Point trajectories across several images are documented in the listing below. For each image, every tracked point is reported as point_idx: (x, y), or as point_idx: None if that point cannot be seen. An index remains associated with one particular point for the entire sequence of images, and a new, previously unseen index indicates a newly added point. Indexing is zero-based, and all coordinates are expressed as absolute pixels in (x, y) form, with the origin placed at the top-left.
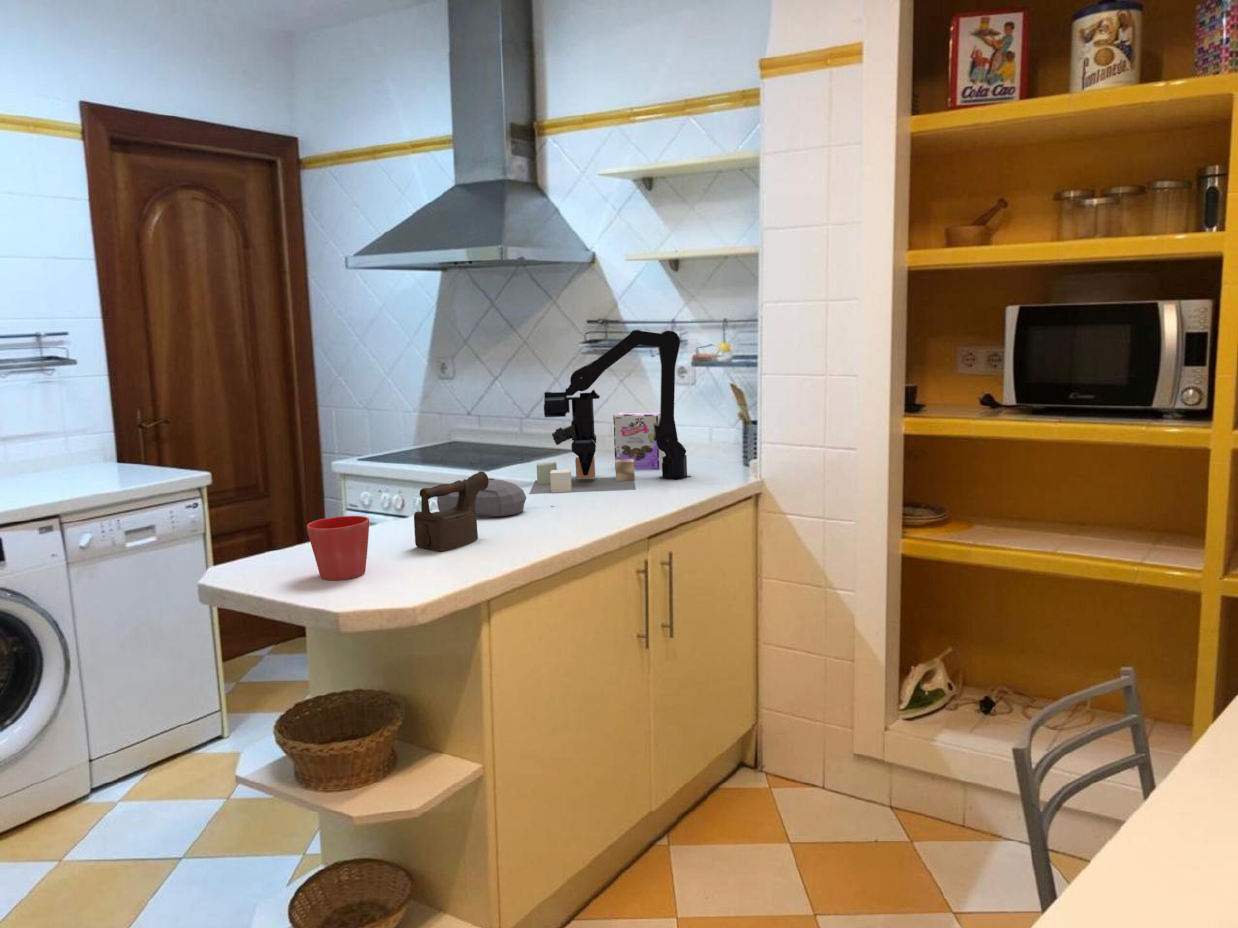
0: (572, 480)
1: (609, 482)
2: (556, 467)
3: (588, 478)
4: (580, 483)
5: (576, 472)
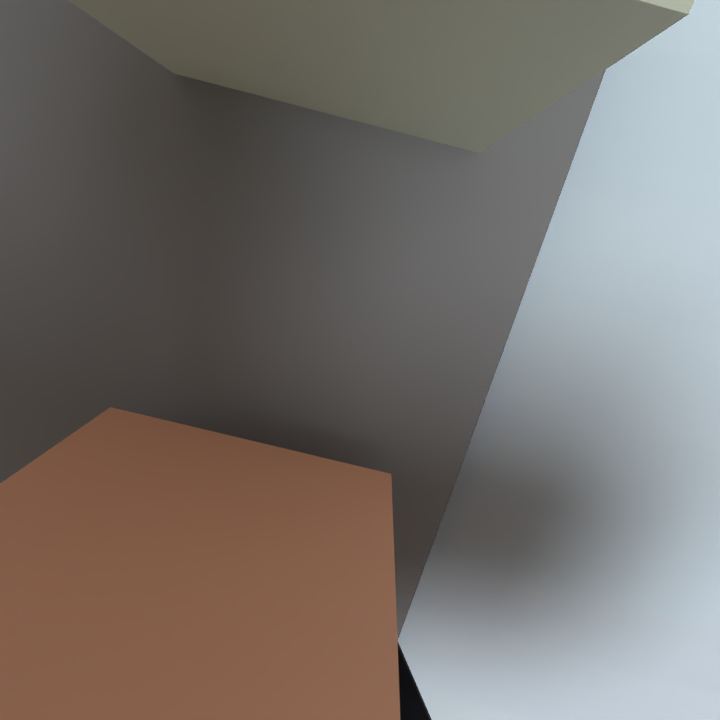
0: (340, 373)
1: None
2: (528, 78)
3: (398, 573)
4: (53, 414)
5: (35, 464)
